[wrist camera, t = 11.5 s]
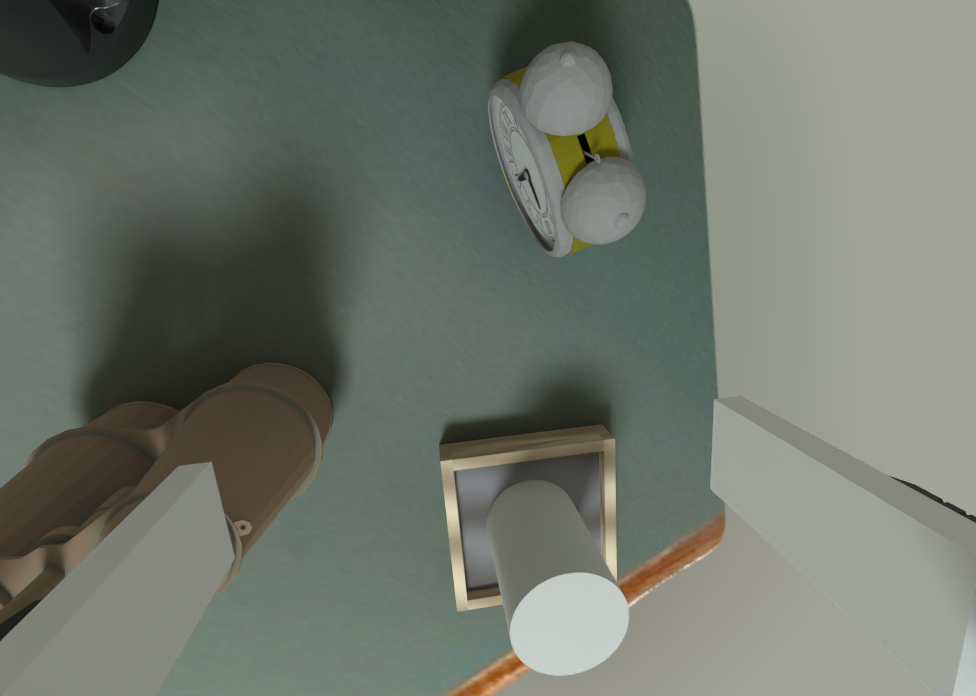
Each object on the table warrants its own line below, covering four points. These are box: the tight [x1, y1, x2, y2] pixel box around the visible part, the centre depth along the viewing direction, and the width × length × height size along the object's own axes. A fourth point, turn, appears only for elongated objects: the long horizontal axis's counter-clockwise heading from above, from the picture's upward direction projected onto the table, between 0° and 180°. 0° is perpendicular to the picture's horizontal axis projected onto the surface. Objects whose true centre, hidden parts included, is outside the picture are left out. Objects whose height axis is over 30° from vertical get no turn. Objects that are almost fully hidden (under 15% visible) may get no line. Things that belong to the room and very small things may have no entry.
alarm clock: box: [487, 41, 646, 257], centre depth 32 cm, size 12×7×15 cm, turn 23°
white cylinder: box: [487, 480, 629, 676], centre depth 38 cm, size 8×8×12 cm
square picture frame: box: [439, 424, 617, 612], centre depth 44 cm, size 15×15×3 cm
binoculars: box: [0, 362, 333, 624], centre depth 29 cm, size 21×10×25 cm, turn 105°
